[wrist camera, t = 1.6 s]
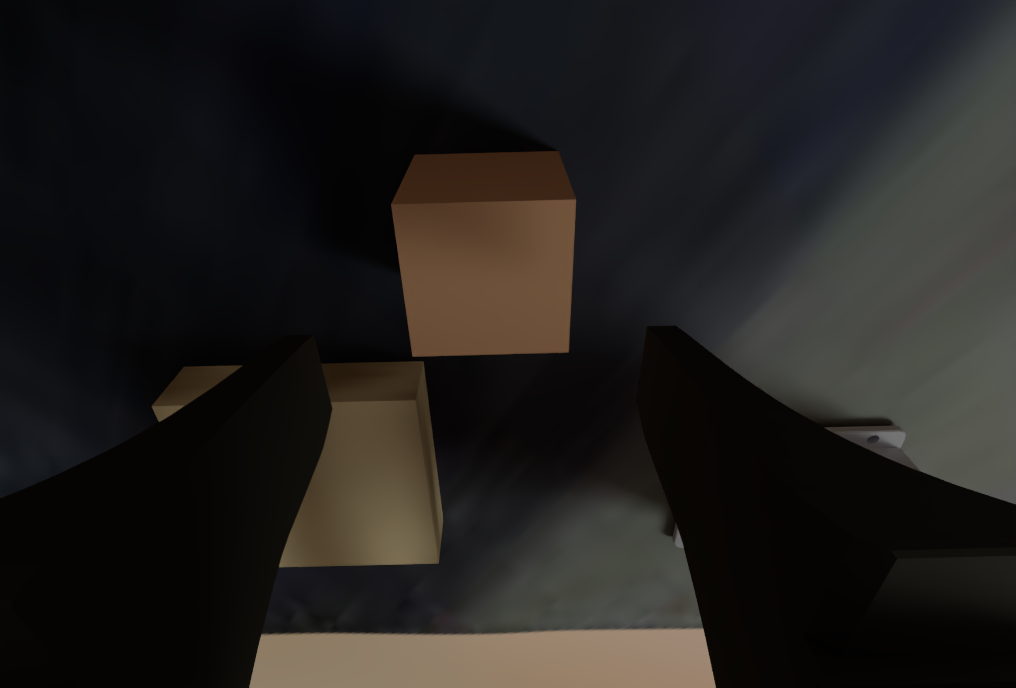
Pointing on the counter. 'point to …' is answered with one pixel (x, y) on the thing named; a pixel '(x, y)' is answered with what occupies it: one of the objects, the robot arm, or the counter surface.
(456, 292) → the brown cube
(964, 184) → the counter surface
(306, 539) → the oak block
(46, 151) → the counter surface
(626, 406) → the counter surface
